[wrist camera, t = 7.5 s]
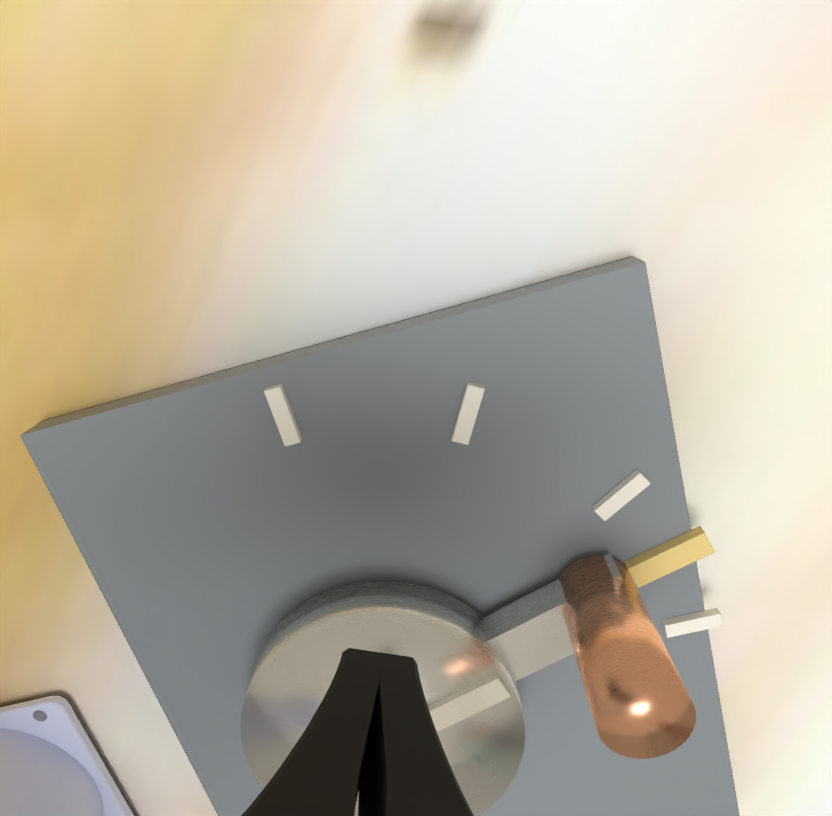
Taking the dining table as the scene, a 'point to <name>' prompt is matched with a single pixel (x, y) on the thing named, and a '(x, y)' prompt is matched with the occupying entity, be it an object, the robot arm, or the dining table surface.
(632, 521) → the board
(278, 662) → the dial
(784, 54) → the dining table surface
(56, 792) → the robot arm
